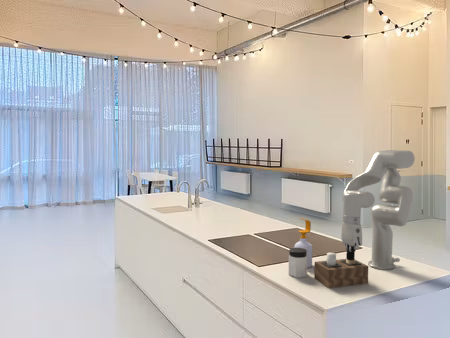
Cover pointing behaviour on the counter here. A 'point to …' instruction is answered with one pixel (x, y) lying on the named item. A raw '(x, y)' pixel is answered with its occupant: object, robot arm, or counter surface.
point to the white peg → (331, 259)
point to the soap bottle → (305, 242)
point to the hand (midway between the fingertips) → (350, 259)
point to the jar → (297, 262)
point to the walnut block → (341, 273)
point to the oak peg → (350, 261)
